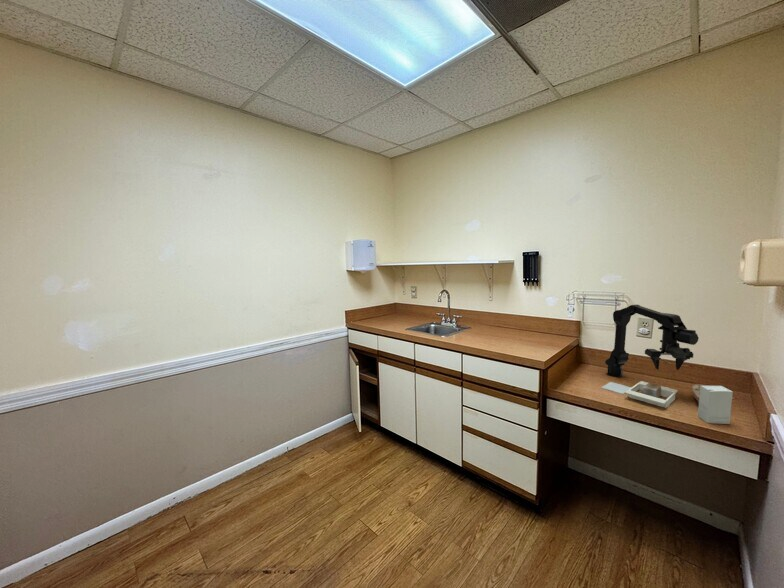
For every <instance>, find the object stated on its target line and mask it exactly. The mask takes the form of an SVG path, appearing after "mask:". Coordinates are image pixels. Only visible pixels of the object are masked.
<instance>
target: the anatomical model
mask: <svg viewBox="0 0 784 588" xmlns="http://www.w3.org/2000/svg"><path fill="white" fill-rule="evenodd" d="M700 386H709V385H707V384H702V383H695V384H692V387H691V389H692V395H693V396H694V398H695V399H696V400H697V402H698V403H699V396H700Z"/></svg>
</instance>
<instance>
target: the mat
mask: <svg viewBox="0 0 784 588" xmlns="http://www.w3.org/2000/svg"><path fill="white" fill-rule="evenodd" d="M600 388H601V389H603V390H605V391H610V392H613V393H616V394H620V395H624V394H626V393H625V392H626V391H628V390H629V389H630V388H632V386H627V385H624V384H620V383H616V382H614V381H613V382H612V381H609V382H608V383H606V384H604V385H603V386H601V387H600Z"/></svg>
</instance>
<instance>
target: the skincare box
mask: <svg viewBox="0 0 784 588" xmlns="http://www.w3.org/2000/svg"><path fill="white" fill-rule="evenodd" d="M733 393H734V392H733V391H732V390H730V389H729V388H726V387H725V386H723V385H708V386H700V396H699V402H698V411H697V417H698V418H700V420H702V421H704V422H705V423H707V424H721V425H722V424H723V425H730V424H731V413H732V402H733Z"/></svg>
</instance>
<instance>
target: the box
mask: <svg viewBox="0 0 784 588" xmlns="http://www.w3.org/2000/svg"><path fill="white" fill-rule="evenodd" d="M647 383H648V384H646V385H645V386H644V387H643V388H642V394H645V395H649V396H653V397H656V398H660V399H661V396H660V395H661V386H662V385H659V384H655V383H652V382H647Z"/></svg>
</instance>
